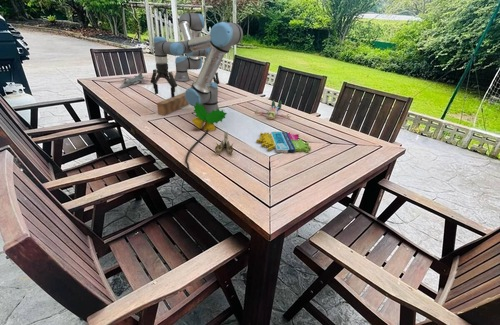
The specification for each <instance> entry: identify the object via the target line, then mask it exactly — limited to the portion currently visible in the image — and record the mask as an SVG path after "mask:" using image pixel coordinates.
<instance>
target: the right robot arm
mask: <svg viewBox="0 0 500 325" xmlns="http://www.w3.org/2000/svg"><path fill="white" fill-rule="evenodd" d="M243 36H244V33H243V29H242V27H241V25H240V24H238V23H236V22H226V21H221V22H217V23H215V24H214V25H213V26H212V27H211V28H210V32H209V34H205V35H200V37H197V38H194V39H190V40H187V41H185V40H182V41H181V40H180V41H167V39H166V37H164V36H154V37H153V50H154V60H155V69H152V74H151V78H150V80H151V81H149V83H150V84H152V87H153V89H154V95H158V94H159V85H158V82H159V80H160V78H161V79H165V80H166V82H167V83H168V84H169V86H170V98H171V97H175V96H176V94H175V93H176V88H177V87H178V84H177V81H176V80H175V76H174V75H173V74H174V73H173V71H169V64H168V55H170V56H175V57H179V56H183V55H186V54H189V53H192V52H195V51H199V50H203V49H207V48H210V50H209V53H208V55H207V57H206V56H205V59H204V62H203V63H202V67H201V68H200V71H199V73H198V76H197V78H196V80H194V81H193V82H192V83H191V85H190V87H189V88H188V89H187V88H186V90H185V98H186V100H187V102H188V103H189V104H188V105H190V106H191V107H194V106H196V102H197V103H198V104H201V106H204V109H206V112H208V113H211V112H212V110H214V111H216V110H217V109H219V111H221V110H220V108H219V102H218V99H219V98H218V97H219V87H218V85H219V84H218V85H217V83H215V82H214V80H213V78H214V76H215V74H216V73H217V71H218V70H219V67H220V65H221V63H222V60H224V56H226V54H229V52H230V50H231V48H232V46H237V45H239V44H240V43H241V41H242V39H243ZM215 77H216V76H215ZM208 113H207V115H208ZM208 132H209V131H208V129H207V131H206V130H205V132H204V133H203V135H202V136H201V137H200V138H198V140H196V141H195V143H193V145H192V146H191V147H190V149H189V150H188V152H187V153H186V155H185V161H184V162H185V164H186V167H187V168H186V169H187V172H190V164H189V161H188V157H189V155H190V153H191V152H192V150H193V149H194V147H195V146H196V145H197V144H198V143H199V142H200V141H201V140H202V139H203V138H204V137H205V136H206V135H207V134H208Z"/></svg>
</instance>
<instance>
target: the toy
mask: <svg viewBox="0 0 500 325" xmlns="http://www.w3.org/2000/svg"><path fill="white" fill-rule="evenodd" d="M270 106H271V108H270V109H268V111H258V109H256V110H253V112H254V114H257V115H258V114H261V115H266V116H265V118H266V119H268V120H276V117H280V118H287V119H290V118H292V115H290V114H288V113H287V115H284V114H282V113H278V110H281V109H282V100H279V102H278V104H277V105H276V101H275V99H272V101H271V105H270Z"/></svg>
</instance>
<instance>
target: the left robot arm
mask: <svg viewBox="0 0 500 325" xmlns="http://www.w3.org/2000/svg"><path fill="white" fill-rule="evenodd" d="M203 15H204V14H202V13H198V12H197V13H194V12H184V13H182V14H181V15H180V16H179V18H178V28H179V29H180V30H181V34H182V37H183V41H187V40H190V39H194V38H197V37H201V32H202V31H203V29H204V28H205V25H206V24H205V23H206V22H205V17H204V16H203ZM209 50H210V48H207V49H203V50H199V51H195V52H192V53H189V54H185V55H181V56H175V60H174V63H175V76H174V79H175V81H176V82H190V80H191V78H190V75H189V73H188V72H189V71H190V70H191V71H193V70H196V71H197V70H201V69H202V67H203V59H202V57H205V58H206V57H207V55H208V53H209ZM188 70H189V71H188ZM212 81H213V82H215V83H217V85H220V79H219V72H217V71H216V74H215V76H214V78H213V80H212Z"/></svg>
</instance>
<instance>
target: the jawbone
mask: <svg viewBox="0 0 500 325" xmlns="http://www.w3.org/2000/svg"><path fill="white" fill-rule="evenodd" d="M223 135H224V136H223V140H222V139H221V142H220V144H218V142H215V144H216V146H215V148H214V149H215V152H214V154H215V155H217V156H218V155H220V153H221V152H223V151H224V150H226V152H227V153H228V155H229V156H233V155H234V154H233V153H234V148H233V144H234V143H230V140H228V139H229V138H228V137H229V136H228V135H229V133H228V131H226V132H224V134H223Z"/></svg>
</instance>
